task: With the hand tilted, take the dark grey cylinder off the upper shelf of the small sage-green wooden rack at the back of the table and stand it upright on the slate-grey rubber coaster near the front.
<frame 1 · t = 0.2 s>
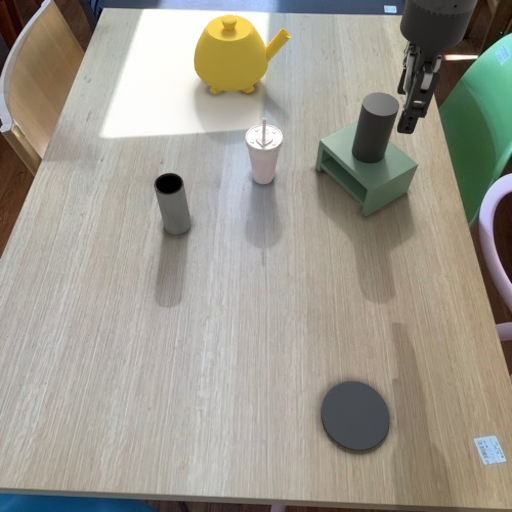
hand: (404, 111, 67), 20 cm above the table, tool pointing down, fingers open, 8 cm apart
planter: (177, 225, 81), on the table
teapot: (242, 79, 104), on the table
dark grey cylinder: (368, 151, 81), point 7 cm above the table, touching rack
smoothie: (263, 177, 88), on the table
coaster: (354, 414, 64), on the table
rack: (360, 180, 87), on the table
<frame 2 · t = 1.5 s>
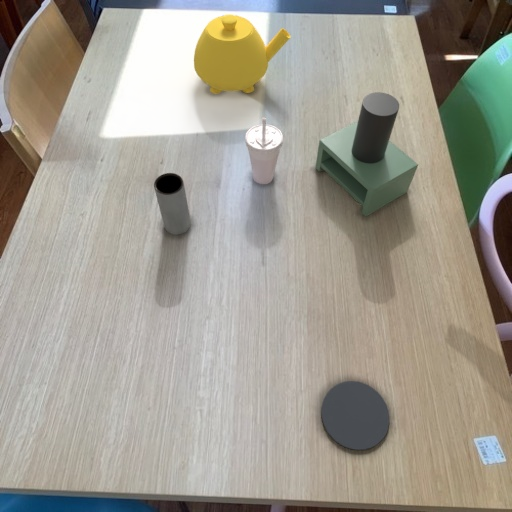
nothing on the table moved.
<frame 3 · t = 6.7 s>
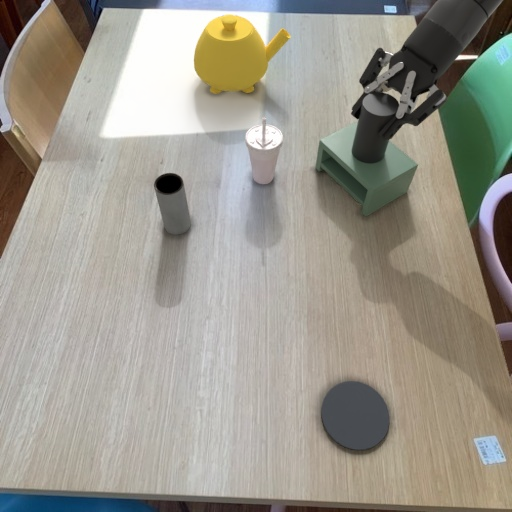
hand: (367, 127, 76), 13 cm above the table, tool tilted 45°, fingers closed on dark grey cylinder, 5 cm apart
dark grey cylinder: (368, 151, 81), point 7 cm above the table, touching gripper, rack
everything else where it was.
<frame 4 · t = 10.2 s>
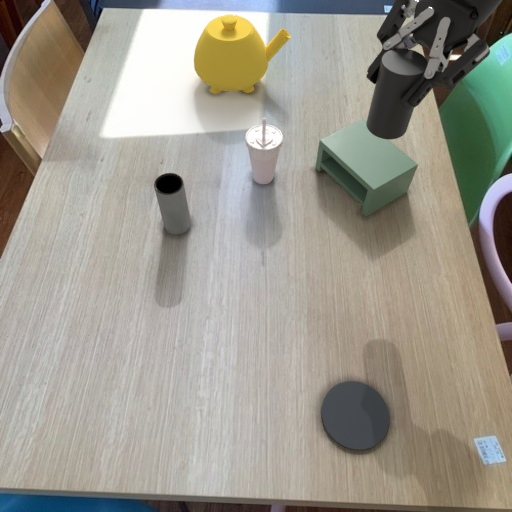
hand: (387, 92, 61), 26 cm above the table, tool tilted 45°, fingers closed on dark grey cylinder, 5 cm apart
dark grey cylinder: (386, 125, 66), point 20 cm above the table, touching gripper
everything else where it was.
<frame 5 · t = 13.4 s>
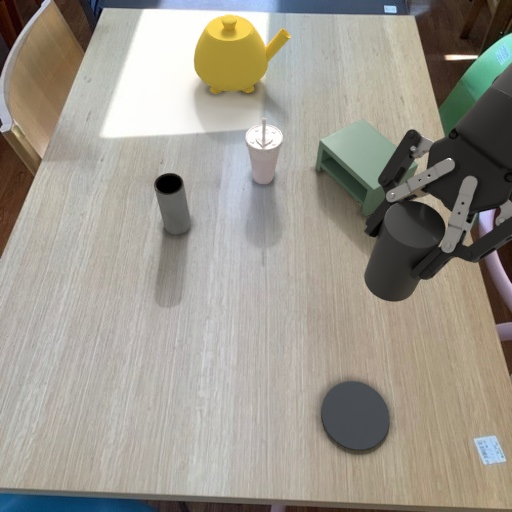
hand: (391, 255, 47), 26 cm above the table, tool tilted 45°, fingers closed on dark grey cylinder, 5 cm apart
dark grey cylinder: (389, 279, 52), point 20 cm above the table, touching gripper
everything else where it was.
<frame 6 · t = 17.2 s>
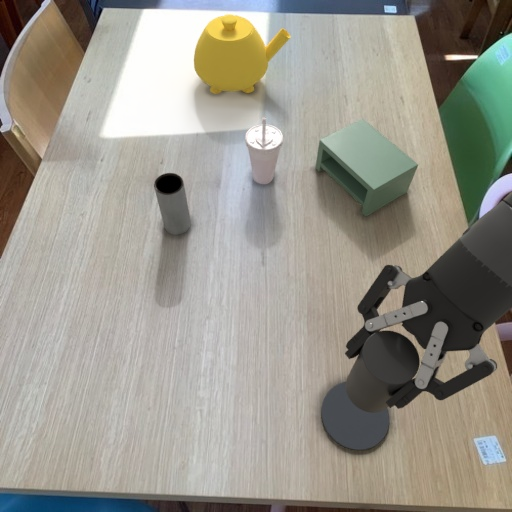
hand: (369, 378, 49), 16 cm above the table, tool tilted 45°, fingers closed on dark grey cylinder, 5 cm apart
dark grey cylinder: (369, 388, 55), point 10 cm above the table, touching gripper
everything else where it was.
when the fingers open (7 cm above the table, at t = 20.4 s): dark grey cylinder stays where it is, resting on coaster.
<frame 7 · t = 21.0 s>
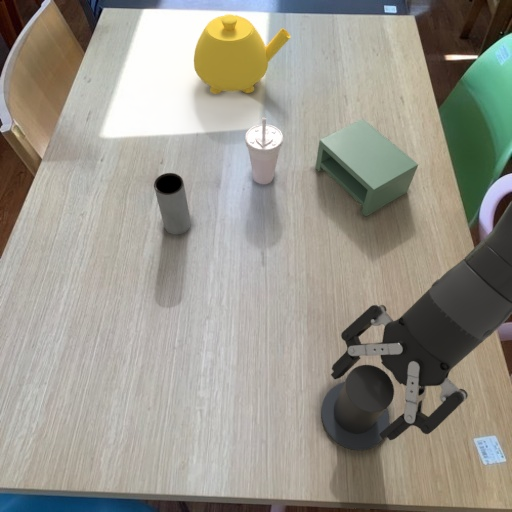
hand: (358, 404, 57), 8 cm above the table, tool tilted 45°, fingers open, 8 cm apart
dark grey cylinder: (354, 412, 63), resting on coaster
everything else where it was.
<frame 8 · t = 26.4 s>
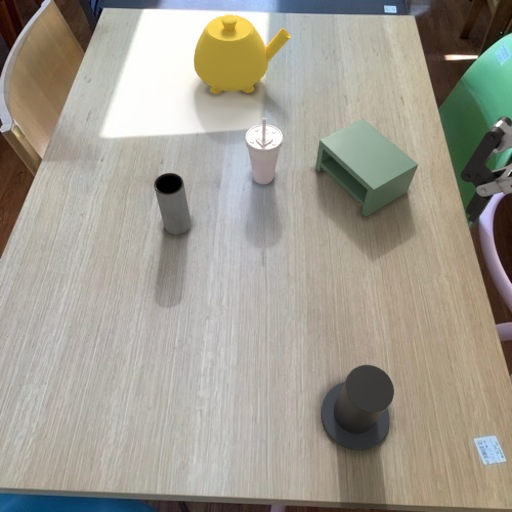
nothing on the table moved.
at the end: dark grey cylinder 0.2 cm off-centre on the coaster, point 0.4 cm above the coaster's base; dark grey cylinder tilted 0°; dark grey cylinder touching coaster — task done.
